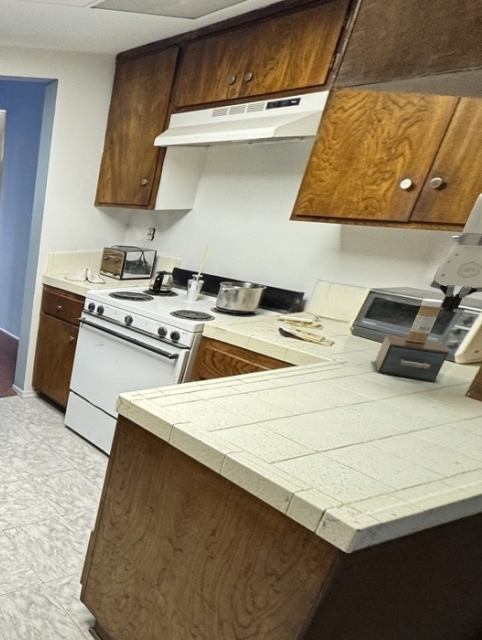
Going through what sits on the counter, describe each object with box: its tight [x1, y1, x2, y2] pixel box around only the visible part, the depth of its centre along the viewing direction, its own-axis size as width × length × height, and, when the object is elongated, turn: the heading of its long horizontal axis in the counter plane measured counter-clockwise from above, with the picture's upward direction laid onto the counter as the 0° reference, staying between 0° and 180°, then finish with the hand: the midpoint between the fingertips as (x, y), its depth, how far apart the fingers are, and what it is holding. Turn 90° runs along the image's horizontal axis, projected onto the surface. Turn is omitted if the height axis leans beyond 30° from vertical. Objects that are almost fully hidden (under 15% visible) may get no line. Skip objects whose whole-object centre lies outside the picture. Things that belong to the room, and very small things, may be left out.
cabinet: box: [374, 334, 449, 383], centre depth 150 cm, size 15×13×10 cm
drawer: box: [382, 347, 445, 379], centre depth 148 cm, size 18×11×8 cm, turn 139°
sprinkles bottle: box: [406, 298, 443, 343], centre depth 147 cm, size 5×5×14 cm
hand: (447, 310), depth 129 cm, fingers closed
